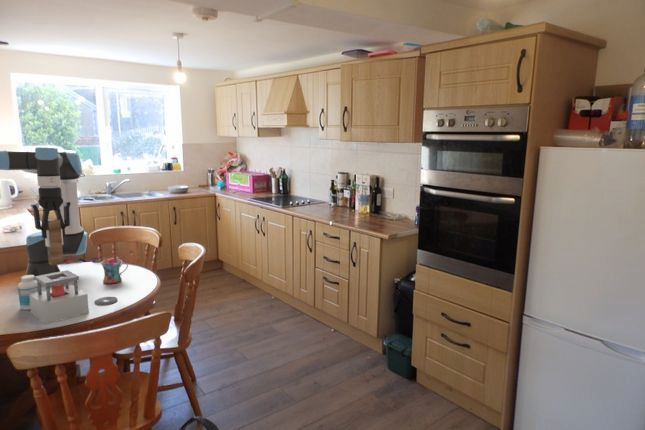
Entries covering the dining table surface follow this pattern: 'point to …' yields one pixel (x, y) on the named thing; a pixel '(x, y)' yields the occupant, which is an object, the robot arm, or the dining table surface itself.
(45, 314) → the box
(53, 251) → the brown wooden block
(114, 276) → the mug
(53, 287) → the breaker button
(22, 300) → the pill bottle
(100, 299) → the pad
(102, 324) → the dining table surface
